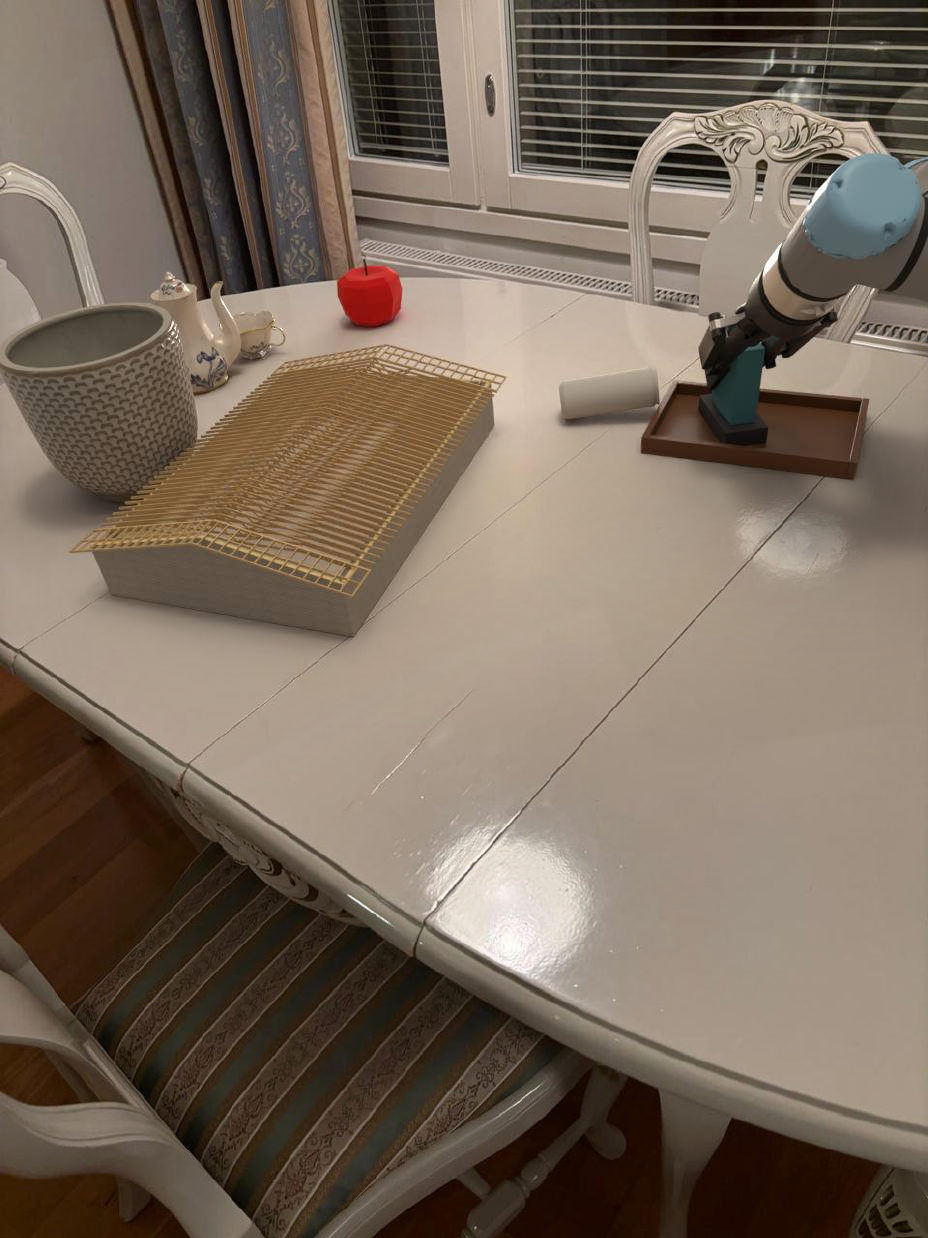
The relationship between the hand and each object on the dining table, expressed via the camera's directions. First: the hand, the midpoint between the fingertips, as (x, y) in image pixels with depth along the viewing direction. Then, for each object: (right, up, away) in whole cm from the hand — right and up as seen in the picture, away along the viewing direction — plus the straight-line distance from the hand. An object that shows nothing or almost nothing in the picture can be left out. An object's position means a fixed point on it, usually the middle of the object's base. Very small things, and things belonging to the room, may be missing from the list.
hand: (724, 377), depth 107 cm
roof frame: (-48, -16, -3) cm, 51 cm away
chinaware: (-72, +8, +28) cm, 78 cm away
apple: (-46, +20, +39) cm, 64 cm away
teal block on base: (+1, -6, 0) cm, 6 cm away
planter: (-72, -12, +4) cm, 73 cm away
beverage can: (-19, -2, +5) cm, 20 cm away
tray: (+3, -7, -1) cm, 8 cm away
